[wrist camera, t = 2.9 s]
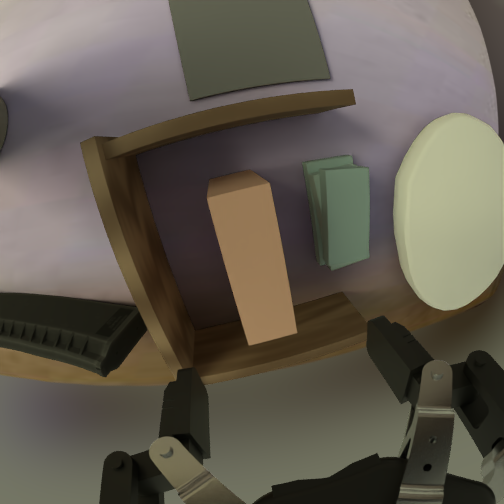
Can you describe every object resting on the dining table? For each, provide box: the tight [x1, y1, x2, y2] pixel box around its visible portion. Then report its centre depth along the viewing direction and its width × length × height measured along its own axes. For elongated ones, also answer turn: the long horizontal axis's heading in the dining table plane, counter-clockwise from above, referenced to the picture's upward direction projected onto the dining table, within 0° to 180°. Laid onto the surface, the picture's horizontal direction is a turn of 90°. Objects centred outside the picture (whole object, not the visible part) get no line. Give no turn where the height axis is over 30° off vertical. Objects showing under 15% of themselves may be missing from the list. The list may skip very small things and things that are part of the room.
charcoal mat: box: [169, 0, 330, 101], centre depth 20 cm, size 14×14×1 cm
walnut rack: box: [80, 89, 367, 385], centre depth 24 cm, size 24×20×9 cm
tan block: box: [207, 170, 297, 346], centre depth 24 cm, size 12×4×10 cm, turn 12°
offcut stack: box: [302, 155, 370, 271], centre depth 27 cm, size 11×5×5 cm, turn 12°
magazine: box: [0, 293, 147, 377], centre depth 24 cm, size 17×3×30 cm
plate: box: [393, 113, 504, 310], centre depth 29 cm, size 28×6×27 cm
